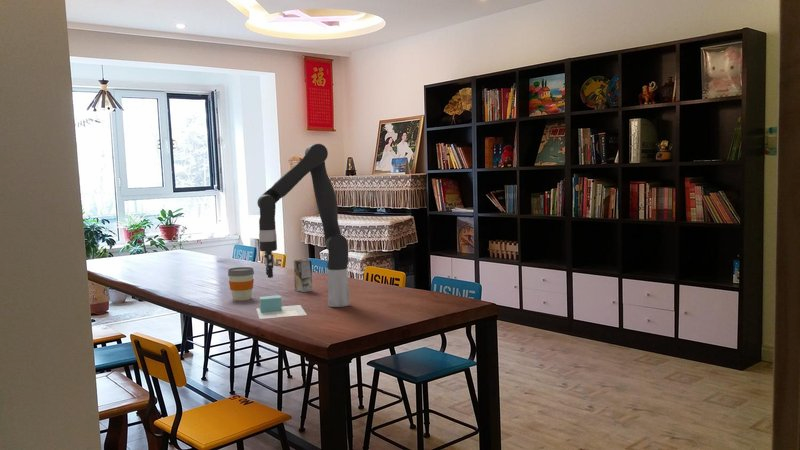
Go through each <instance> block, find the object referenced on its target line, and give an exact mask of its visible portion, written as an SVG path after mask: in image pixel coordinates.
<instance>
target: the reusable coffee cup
mask: <svg viewBox="0 0 800 450" xmlns="http://www.w3.org/2000/svg"><path fill="white" fill-rule="evenodd" d="M254 274H255V272H254V268H253V267H249V266H242V267H241V266H239V267H232V268H228V271H227V275H228V278H229V280H228V284H229V290H230V291H231V296H232V300H233V301H248V300H250V299H252V295H253V289H254V281H255V279H254Z"/></svg>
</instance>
